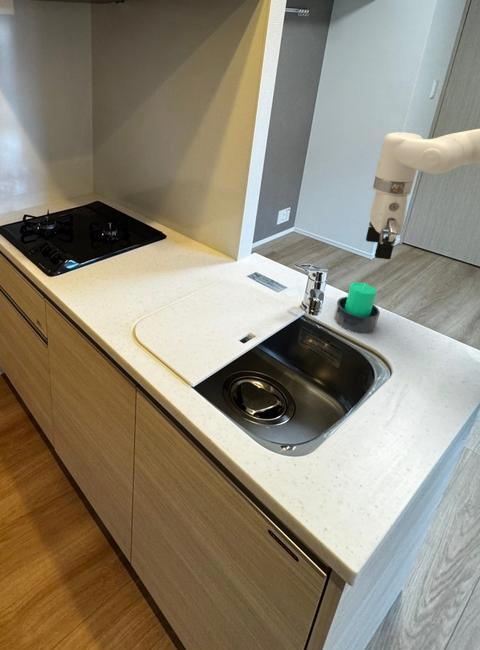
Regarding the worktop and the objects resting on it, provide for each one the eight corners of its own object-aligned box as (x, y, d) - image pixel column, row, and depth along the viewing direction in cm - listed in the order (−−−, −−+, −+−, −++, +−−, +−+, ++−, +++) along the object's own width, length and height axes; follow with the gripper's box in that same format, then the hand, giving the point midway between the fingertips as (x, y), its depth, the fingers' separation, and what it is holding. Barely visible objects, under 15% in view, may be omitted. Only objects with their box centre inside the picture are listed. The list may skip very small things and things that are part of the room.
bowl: (370, 315, 116) (374, 300, 114) (379, 337, 108) (383, 321, 106) (331, 308, 120) (335, 294, 118) (337, 329, 111) (340, 313, 109)
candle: (357, 329, 110) (368, 291, 105) (337, 317, 115) (346, 280, 110) (372, 323, 112) (383, 285, 108) (352, 311, 117) (361, 275, 113)
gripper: (423, 198, 90) (405, 267, 96) (400, 176, 105) (385, 237, 111) (383, 195, 92) (367, 262, 98) (366, 174, 107) (353, 234, 113)
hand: (377, 249), depth 104 cm, fingers open, 9 cm apart
